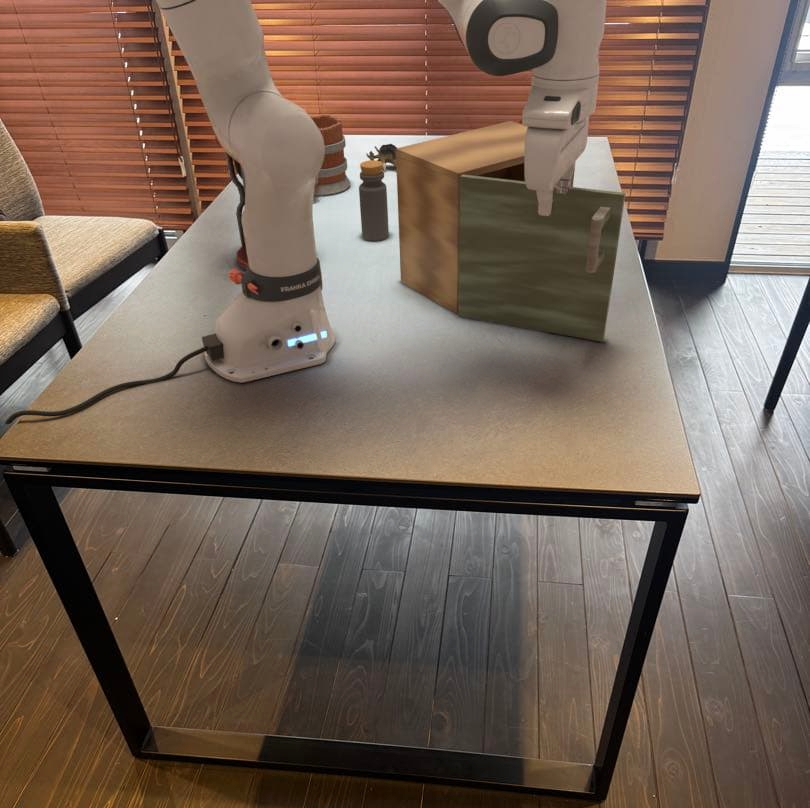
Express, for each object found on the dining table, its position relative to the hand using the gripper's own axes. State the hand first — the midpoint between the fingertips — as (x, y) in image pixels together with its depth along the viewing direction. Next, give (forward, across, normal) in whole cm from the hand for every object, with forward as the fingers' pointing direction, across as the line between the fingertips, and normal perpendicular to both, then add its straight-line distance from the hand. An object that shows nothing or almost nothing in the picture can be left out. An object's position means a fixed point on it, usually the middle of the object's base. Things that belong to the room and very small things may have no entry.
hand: (554, 202), depth 116 cm
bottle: (+25, -38, -48) cm, 66 cm away
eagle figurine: (+25, -81, -65) cm, 107 cm away
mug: (+25, -61, -74) cm, 99 cm away
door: (+24, -5, -5) cm, 25 cm away
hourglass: (+25, -20, -63) cm, 71 cm away
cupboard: (+25, -25, -19) cm, 40 cm away
